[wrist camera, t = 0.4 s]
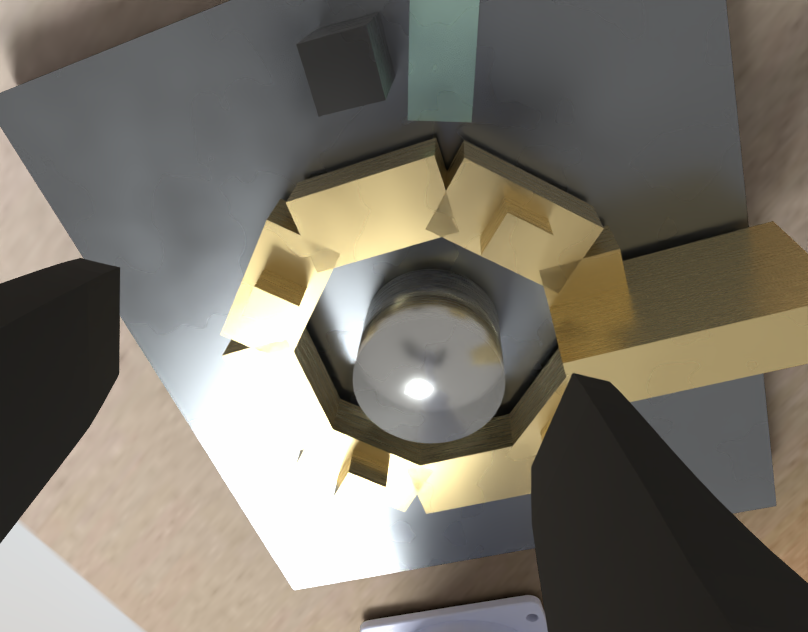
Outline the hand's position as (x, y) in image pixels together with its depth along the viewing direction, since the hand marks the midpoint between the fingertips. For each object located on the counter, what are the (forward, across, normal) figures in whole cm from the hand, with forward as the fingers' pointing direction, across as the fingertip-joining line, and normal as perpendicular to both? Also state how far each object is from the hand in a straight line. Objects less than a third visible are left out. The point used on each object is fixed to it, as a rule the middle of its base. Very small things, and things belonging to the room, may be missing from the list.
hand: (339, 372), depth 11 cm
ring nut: (+8, -4, +3) cm, 9 cm away
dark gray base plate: (+10, -2, +4) cm, 11 cm away
